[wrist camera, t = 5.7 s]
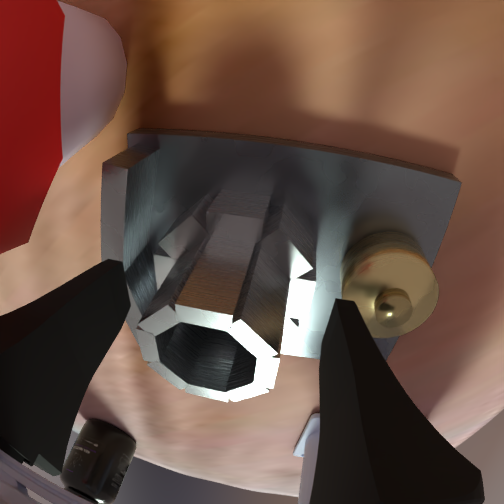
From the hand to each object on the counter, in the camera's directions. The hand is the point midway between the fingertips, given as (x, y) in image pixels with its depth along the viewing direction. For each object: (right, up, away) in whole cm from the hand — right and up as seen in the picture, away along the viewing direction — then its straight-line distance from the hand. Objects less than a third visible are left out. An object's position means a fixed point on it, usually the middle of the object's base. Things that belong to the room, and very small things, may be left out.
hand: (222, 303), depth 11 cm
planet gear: (+1, +1, +3) cm, 3 cm away
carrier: (+2, +2, +4) cm, 5 cm away
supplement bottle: (-16, -20, +21) cm, 33 cm away
